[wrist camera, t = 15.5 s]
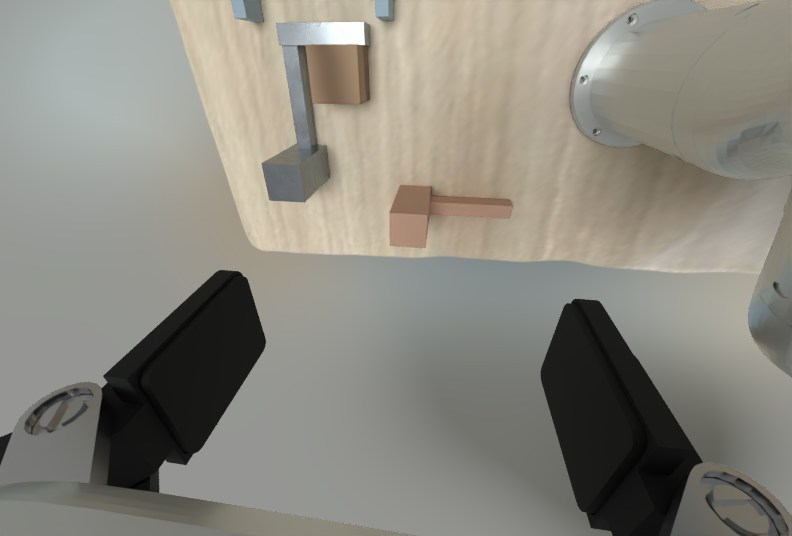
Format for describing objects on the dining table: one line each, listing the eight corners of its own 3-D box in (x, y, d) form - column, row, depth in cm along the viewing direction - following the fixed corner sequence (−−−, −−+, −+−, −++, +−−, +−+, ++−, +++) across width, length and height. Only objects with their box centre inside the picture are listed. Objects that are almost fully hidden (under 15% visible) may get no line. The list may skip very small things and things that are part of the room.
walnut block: (367, 46, 34) (356, 44, 30) (369, 99, 37) (359, 104, 33) (322, 46, 35) (305, 44, 31) (327, 98, 37) (312, 103, 33)
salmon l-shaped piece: (399, 214, 44) (389, 245, 36) (400, 185, 42) (389, 212, 34) (505, 220, 42) (517, 254, 35) (511, 190, 40) (526, 220, 33)
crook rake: (374, 179, 42) (358, 205, 34) (300, 175, 43) (269, 200, 35) (369, 24, 33) (346, 14, 26) (276, 25, 34) (228, 15, 27)
